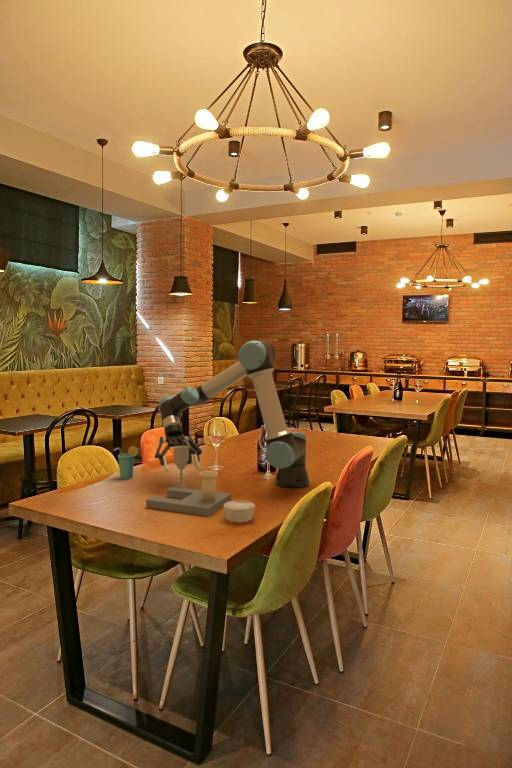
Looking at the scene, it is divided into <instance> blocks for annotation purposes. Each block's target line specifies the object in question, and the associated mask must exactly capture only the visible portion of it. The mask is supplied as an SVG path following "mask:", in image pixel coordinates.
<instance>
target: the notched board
mask: <svg viewBox="0 0 512 768" xmlns="http://www.w3.org/2000/svg"><path fill="white" fill-rule="evenodd" d="M198 476H199V478H201V489H196V488H195V489H194V488H187V487H186V488H180V487H177V486H171V487H169V488H168V489H166V497H161V496H151V497H149V498H147V499H145V501H146V502H145V503H146V504H145V508H146V507H147V509H152V508H155V509H154V510H159V509H161V511H166V510H169V511H168V512H173V511H175V513H180V512H183V513H182V514H187V513H190V514H189V515H194V514H196V515H197V516H202V515H204V517H210V516H212V515H213V514H215V513H216V512H217V510H218V509H219V510H221V509H222V508H223V506H224V504H225V503H226V502H229V501H232V493H227V492H220V491H216V478H218V476H219V472H218V471H215V470H203V471H200V472H199V474H198ZM170 497H171V498H170ZM177 498H178V499H177ZM221 507H222V508H221ZM220 508H221V509H220ZM219 510H218V511H219ZM215 511H216V512H215ZM214 512H215V513H214ZM212 513H213V514H212ZM211 514H212V515H211Z"/></svg>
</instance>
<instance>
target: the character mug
mask: <svg viewBox="0 0 512 768" xmlns="http://www.w3.org/2000/svg"><path fill="white" fill-rule="evenodd" d="M184 437H188V436H185V435H184ZM191 438H192V440H193V441H194V438H193V436H191ZM184 441H186V440H184ZM186 442H187V441H186ZM194 442H195V443H196V441H194ZM187 444H189V443H188V442H187ZM196 444H197V443H196ZM189 445H190V444H189ZM190 446H191V445H190ZM192 462H193V454H191V453H190V452H189V459H188V462H187V464H189V463H192Z"/></svg>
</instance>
